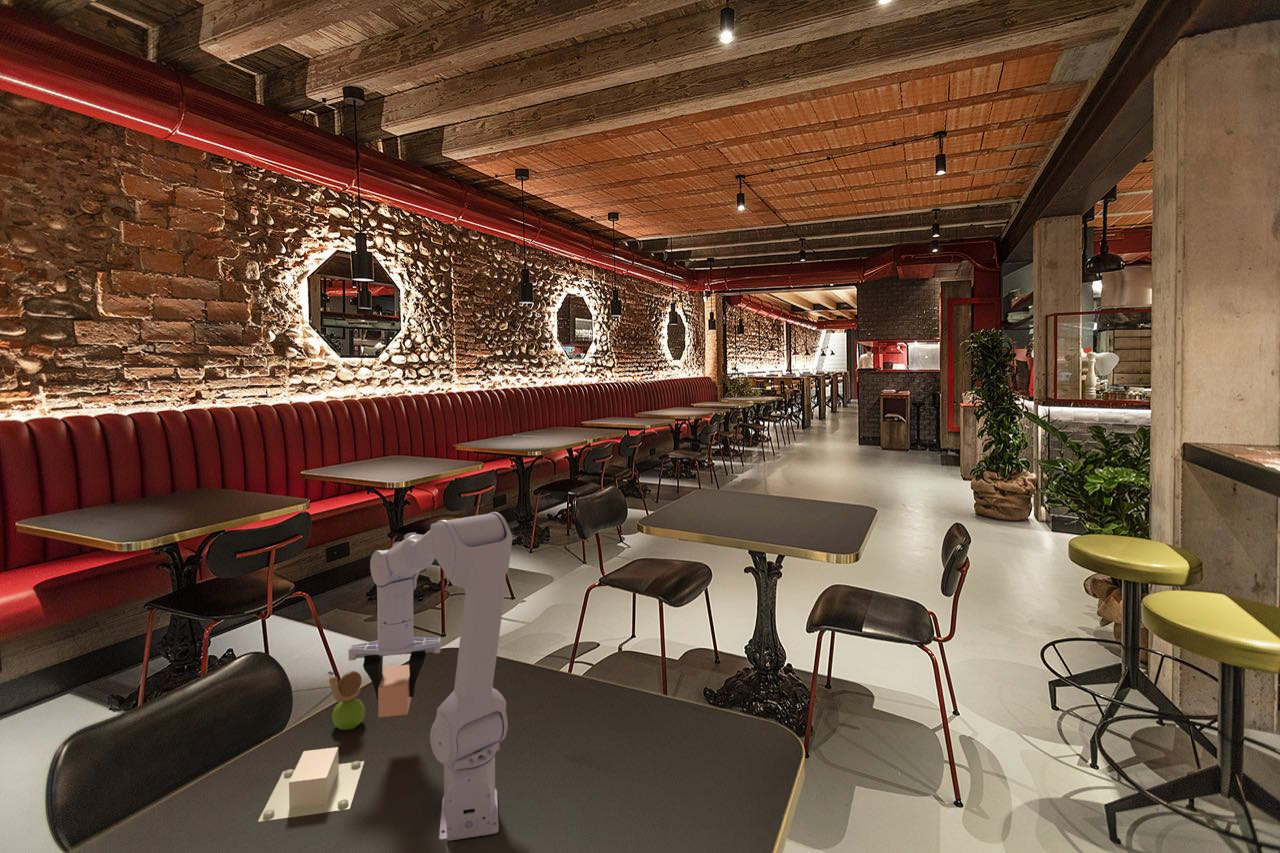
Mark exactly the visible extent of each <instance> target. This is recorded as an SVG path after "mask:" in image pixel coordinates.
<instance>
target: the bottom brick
mask: <svg viewBox="0 0 1280 853" xmlns="http://www.w3.org/2000/svg"><path fill="white" fill-rule="evenodd" d="M339 764H340V763H339V747H338V746H335V747H329V748H327V747H326V748H320V749H311V750H310V749H309V750H304V751H303V752H302V753H301V756H300V758H299V760H298V762H297V764H296V766H295V769H294V770H295V771H294V773H293V775H292V777H291V779H290V781H289V809H291V808H298V807H305V806H313V805H320V804H327V802H328V799H329V796H330V793H331V791H332V788H333V785H334V782H335V780H336V777H337V774H338V772H339Z"/></svg>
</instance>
